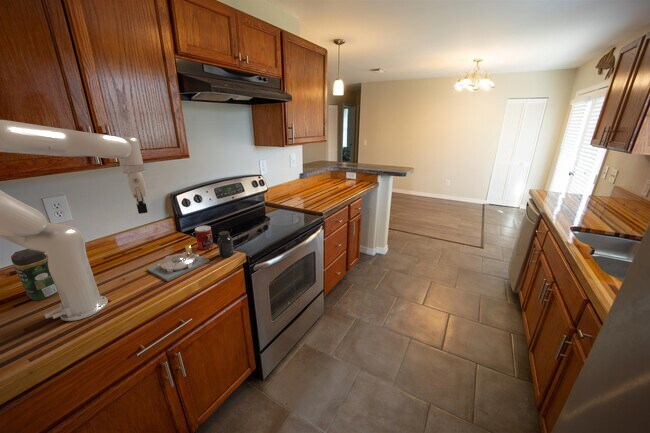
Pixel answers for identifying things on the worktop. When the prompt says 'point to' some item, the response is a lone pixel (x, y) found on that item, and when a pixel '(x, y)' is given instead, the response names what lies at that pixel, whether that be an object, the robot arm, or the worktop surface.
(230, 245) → the supplement bottle
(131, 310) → the worktop surface
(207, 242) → the canned food
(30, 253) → the coffee jar
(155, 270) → the base plate
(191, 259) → the silver shallow bowl
